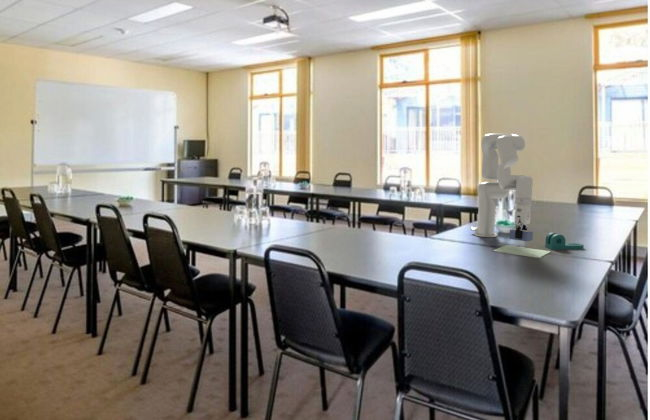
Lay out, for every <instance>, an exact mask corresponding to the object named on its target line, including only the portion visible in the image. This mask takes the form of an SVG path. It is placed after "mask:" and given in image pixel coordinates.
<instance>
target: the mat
mask: <svg viewBox="0 0 650 420" xmlns="http://www.w3.org/2000/svg"><path fill="white" fill-rule="evenodd" d="M492 252H495V253H501V254H502V253H503V254H509V255H517V256H524V257H529V258H536V259H541V258H542V257H544V256H546V255H548V254H549V253H551V251H550V250H544V249H535V248H529V247H523V246H514V245H509V244H505V245H504V246H501V247H500V246H499V247H498V248H496V249H493V251H492Z"/></svg>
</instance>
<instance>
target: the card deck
mask: <svg viewBox="0 0 650 420" xmlns="http://www.w3.org/2000/svg"><path fill="white" fill-rule="evenodd" d="M522 231H523V232H522V239H518V238H515V228H514V229H510V230H509V240H515V241H522V242H530V241H533V237H534V236H533V233H534V231H533V230H528V229H527V230H522Z"/></svg>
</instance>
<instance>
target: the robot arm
mask: <svg viewBox="0 0 650 420" xmlns="http://www.w3.org/2000/svg"><path fill="white" fill-rule="evenodd" d="M480 146H481V151H482V162H481V164H482V166H481V177H482V179H484V180H487V181H484V182H480V183H479V184H478V186H477V197H478V211H477V226H476V227H473V226H471V228H470V231H473V232H474V231H475V232H474V234H473V235H474V236H475V237H481V238H496V237H497V236H498V234H497V233H496V232H495V226H496V225H495V223H496V210H497V209H496V207H497V206H496V204H495V202H494V201H493V199H505V198H507V197H508V196H509V193H510V191H515V193H514V205H515V211H514V226H515V228H514V229H515V238H518V239H522V232H523V231H522V230H528V225H530V223H531V219H532V218H531V214H532V213H531V211H532V210H531V205H532V199H533V197H532V196H533V192H532V191H533V178H532V176H526V175H520V174H519V175H517V174H516V175H515V174H511V173H512V170H511V167H512V166H514V165H516V164H517V162H519V155H518V152H522V151H523V150H524V149H525V147H526V141H525V139H524V138H523V136H522V135H520V134H519V135H518V134H514V133H486V134H485V135H484V136H483V137H482V138H481V145H480ZM499 159H500V162H499ZM488 180H489V181H488ZM490 180H491V181H490ZM496 180H497V181H496Z"/></svg>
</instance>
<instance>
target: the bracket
mask: <svg viewBox="0 0 650 420" xmlns="http://www.w3.org/2000/svg"><path fill="white" fill-rule="evenodd" d="M566 241H567V239H566V238H565V236H564V235H562V234H560V233H556V232H553V231H551V232H549V233H548V234H546V236H545V245H544V247H545V248H547V249H549V250H557V251H558V250H560V251H561V250H562V249H573V250H584V248H585V246H584V244H582V243H578V242H566Z"/></svg>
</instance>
